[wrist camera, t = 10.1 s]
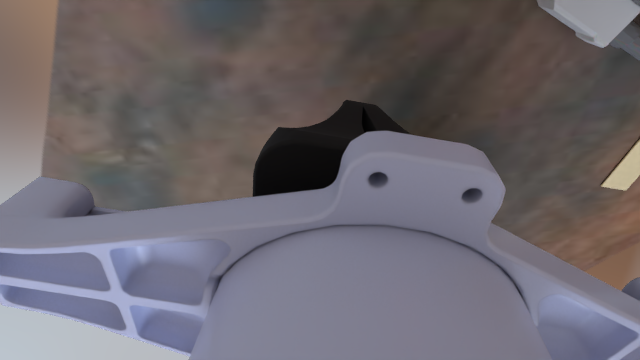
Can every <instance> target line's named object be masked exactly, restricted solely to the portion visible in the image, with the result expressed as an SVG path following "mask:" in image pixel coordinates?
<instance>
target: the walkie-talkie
mask: <svg viewBox="0 0 640 360" xmlns="http://www.w3.org/2000/svg"><path fill="white" fill-rule="evenodd" d="M537 3H538V6H539V7H541V8H542V9H544V10H545V11H547V12H548V13H550V14H551V15H552V16H554V17H555V18H557V19H558V20H560V21H561V22H563V23H564V24H565V25H567V26H568V27H570V28H571V29H573V30H574V31H576V36H577V37H579V38H580V39H582V40H584V41H585V42H588V43H590V44H593V45H596V46H598V47H601V48H604V47H606V46H607V45H608V44H610V45H611V46H613V47H614V48H622V49H623V50H625V51H626V52H627V53H629V54H630V55H632V56H633V57H635V58H636V59H638V60H639V61H640V26H638V25H637V24H635V23H634V22H633V21H632V20H633V19H634V18H635V17H636V16H637V15H638V14H639V13H640V0H537Z"/></svg>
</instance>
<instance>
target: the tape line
mask: <svg viewBox="0 0 640 360" xmlns="http://www.w3.org/2000/svg"><path fill="white" fill-rule="evenodd" d="M639 175H640V139H639V140H638V141H637V143H636V144H635V145H634V146H633V147H632V149H631V150H630V151H629V152H628V153H627V155H626V156H625V157H624V158H623V159H622V161H621V162H620V163H619V164H618V165H617V167H616V168H615V169H614V170H613V171H612V172H611V174H610V175H609V176H608V177H607V178H606V180H605V181H604V182H603V183H602V184H601V186H602V187H608V188H614V189H620V190H627V189H628V187H629V186H630V185H631V184H632V183H633V182H634V181H635V180H636V179H637V178H638V176H639Z"/></svg>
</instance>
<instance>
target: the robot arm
mask: <svg viewBox="0 0 640 360" xmlns="http://www.w3.org/2000/svg"><path fill="white" fill-rule="evenodd" d="M505 191H506V188H505V187H504V185H503V183H502V181H501V179H500V177H499V175H498V173H497V172H496V170H495V169H494V167H493V166H492V164H491V163H490V161H489V160H488V158H487V157H486V155H485V154H484V152H483V151H481V150H478V149H476V148H474V147H472V146H470V145H468V144H462V143H457V142H451V141H445V140H439V139H433V138H427V137H422V136H416V135H411V134H410V133H408V132H407V131H406V130H404V129H403V128H402V127H400V126H399V125H398V124H397V123H395V122H394V121H393V120H392V119H391V118H390V117H389V116H388V115H387V114H385V113H384V112H383V111H382V110H381V109H380V108H379V107H378V106H376V105H372V104H367V103H361V102H355V101H349V100H346V101H344V102H343V105H342V106H341V107H340V108H339V110H338V111H337V112H336V113H335V114H333V115H332V116H331V117H330V118H328V119H327V120H325V121H323V122H321V123H318V124H315V125H312V126H308V127H302V128H282V127H278V128H277V129H276V131H275V132H274V133H273V134H272V136H271V137H270V138H269V140H268V141H267V142H266V144H265V145H264V147H263V149H262V151H261V153H260V155H259V157H258V159H257V161H256V164H255V169H254V174H253V197H247V198H239V199H230V200H222V201H213V202H205V203H196V204H188V205H179V206H171V207H162V208H154V209H145V210H137V211H128V212H126V211H120V210H114V209H108V208H102V207H95V205H94V200H93V197H92V194H91V192H90V191H89V189H88V188H86V187H85V186H84V185H82V184H79V183H76V182H71V181H65V180H59V179H52V178H46V177H38V178H37V179H36V180H34V181H33V182H31V183H30V184H29V185H27V186H26V187H25V188H23V189H22V190H20V191H19V192H18V193H16V194H15V195H13V196H12V197H11V198H9V199H8V200H7V201H5V202H4V203H2V204H1V205H0V303H1V304H2V305H3V306H8V307H14V308H20V309H25V310H31V311H36V312H41V313H45V314H50V315H54V316H58V317H62V318H66V319H71V320H74V321H77V322H81V323H84V324H88V325H92V326H95V327H98V328H101V329H105V330H108V331H111V332H114V333H117V334H120V335H124V336H127V337H130V338H133V339H137V340H139V341H143V342H146V343H149V344H152V345H155V346H158V347H161V348H165V349H168V350H171V351H174V352H177V353H181V354H184V355H187V356H190V357H189V360H640V277H639V278H636V279H634V280H632V281H630V282H629V283H628V284H627V285H626V286H625V287H624V288H623V289H622V291H620V290H618V289H616V288H614V287H612V286H611V285H609V284H607V283H605V282H603V281H601V280H599V279H597V278H595V277H593V276H592V275H589V274H587V273H586V272H584V271H582V270H580V269H578V268H576V267H574V266H573V265H571V264H569V263H567V262H565V261H563V260H561V259H559V258H557V257H555V256H554V255H552V254H550V253H548V252H546V251H544V250H542V249H540V248H538V247H536V246H535V245H533V244H531V243H529V242H527V241H525V240H523V239H521V238H519V237H517V236H516V235H514V234H512V233H510V232H508V231H506V230H504V229H502V228H500V227H498V226H497V225H495V224H493V223H491V221H492V219H493V218H494V216H495V215H496V213H497V212H498V210H499V208H500V207H501V205H502V202H503V198H504V194H505Z"/></svg>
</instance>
